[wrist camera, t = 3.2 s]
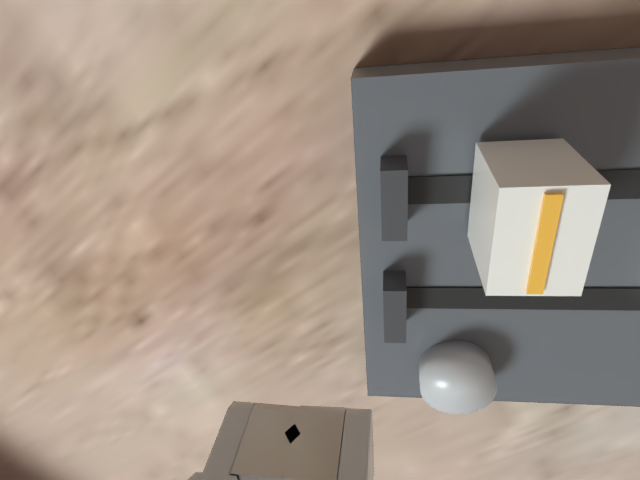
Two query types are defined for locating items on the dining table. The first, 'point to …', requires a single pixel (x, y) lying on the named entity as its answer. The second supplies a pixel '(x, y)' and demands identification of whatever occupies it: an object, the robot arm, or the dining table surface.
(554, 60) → the console
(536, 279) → the fader
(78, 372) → the dining table surface
